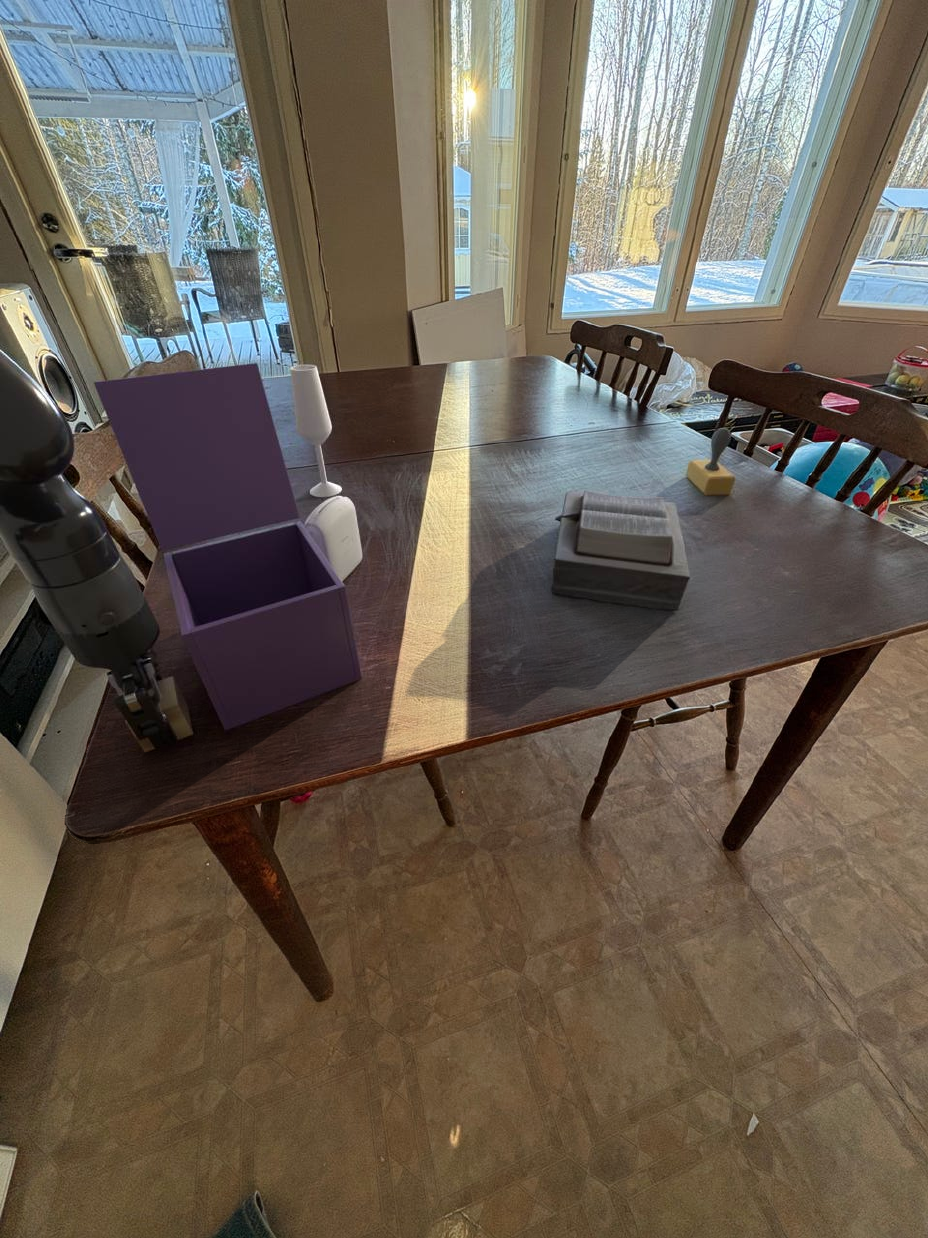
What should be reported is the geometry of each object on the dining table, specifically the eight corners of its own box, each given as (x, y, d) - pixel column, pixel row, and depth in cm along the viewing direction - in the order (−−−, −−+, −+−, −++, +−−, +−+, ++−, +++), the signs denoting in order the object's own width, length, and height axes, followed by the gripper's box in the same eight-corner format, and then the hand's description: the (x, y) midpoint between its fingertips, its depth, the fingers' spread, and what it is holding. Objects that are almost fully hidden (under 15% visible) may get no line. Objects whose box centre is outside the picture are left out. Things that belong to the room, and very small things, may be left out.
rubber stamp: (684, 475, 114) (700, 420, 106) (710, 475, 114) (727, 419, 107) (704, 495, 106) (722, 437, 98) (731, 494, 106) (751, 436, 99)
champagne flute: (345, 493, 107) (326, 369, 92) (314, 499, 105) (288, 373, 90) (336, 481, 112) (316, 361, 97) (306, 487, 110) (280, 365, 95)
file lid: (257, 362, 59) (256, 363, 60) (93, 381, 53) (94, 382, 53) (300, 517, 67) (298, 516, 68) (161, 550, 61) (161, 549, 61)
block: (144, 752, 56) (125, 722, 53) (141, 721, 59) (123, 692, 56) (193, 734, 58) (177, 704, 55) (187, 705, 61) (172, 676, 58)
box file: (362, 678, 65) (345, 586, 56) (225, 731, 58) (181, 635, 49) (319, 606, 77) (300, 520, 68) (201, 643, 70) (163, 553, 61)
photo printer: (334, 592, 79) (320, 520, 72) (311, 587, 81) (294, 516, 73) (366, 559, 87) (357, 491, 79) (344, 554, 88) (332, 487, 80)
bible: (521, 587, 80) (525, 532, 74) (566, 514, 99) (573, 465, 93) (676, 625, 73) (695, 567, 67) (693, 538, 92) (709, 487, 86)
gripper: (54, 580, 51) (124, 693, 61) (46, 666, 41) (130, 784, 52) (138, 559, 54) (191, 671, 64) (148, 636, 44) (209, 753, 55)
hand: (164, 721), depth 58 cm, fingers open, 7 cm apart
